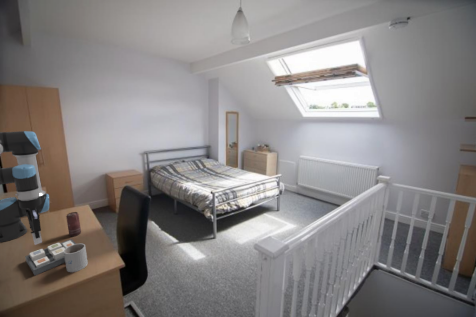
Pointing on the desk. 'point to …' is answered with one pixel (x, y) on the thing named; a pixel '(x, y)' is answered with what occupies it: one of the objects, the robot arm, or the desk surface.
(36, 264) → the key rust
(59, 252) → the key sand
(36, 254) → the key slate
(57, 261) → the keypad
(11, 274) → the desk surface
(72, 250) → the mug
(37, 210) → the robot arm
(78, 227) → the can
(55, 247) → the key olive
